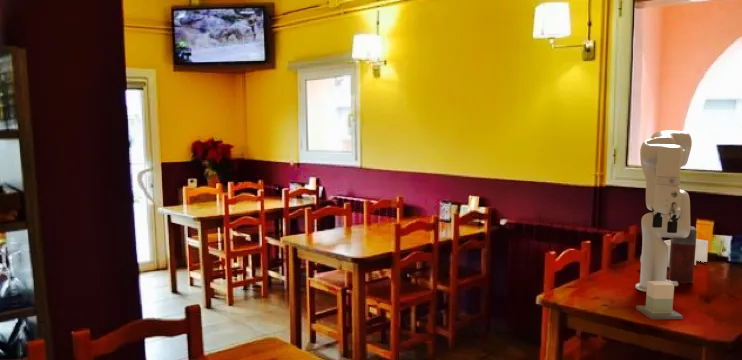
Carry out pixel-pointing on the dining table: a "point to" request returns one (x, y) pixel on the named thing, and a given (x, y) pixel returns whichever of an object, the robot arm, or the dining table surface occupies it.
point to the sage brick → (659, 305)
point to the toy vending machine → (683, 258)
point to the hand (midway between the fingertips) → (664, 230)
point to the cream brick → (660, 289)
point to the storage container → (700, 250)
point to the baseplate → (659, 314)
